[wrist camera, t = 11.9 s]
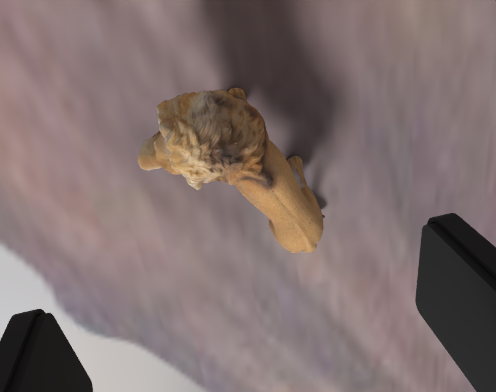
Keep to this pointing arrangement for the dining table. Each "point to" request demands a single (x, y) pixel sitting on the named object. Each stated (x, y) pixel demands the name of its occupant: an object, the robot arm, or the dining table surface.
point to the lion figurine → (235, 160)
